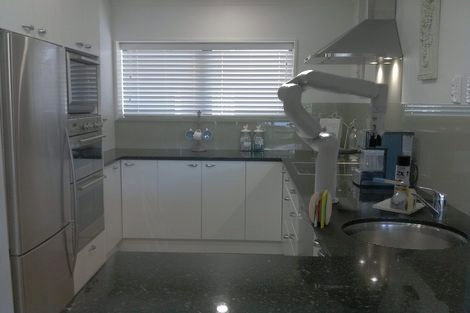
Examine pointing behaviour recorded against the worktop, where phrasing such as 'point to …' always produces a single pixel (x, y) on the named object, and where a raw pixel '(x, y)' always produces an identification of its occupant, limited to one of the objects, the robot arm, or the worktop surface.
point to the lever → (402, 183)
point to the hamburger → (320, 208)
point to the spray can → (402, 169)
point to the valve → (400, 202)
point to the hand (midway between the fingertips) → (375, 146)
